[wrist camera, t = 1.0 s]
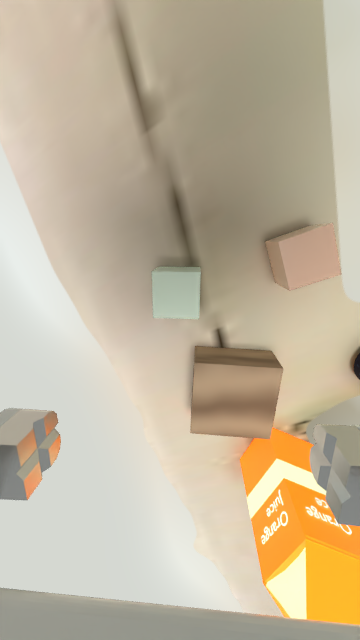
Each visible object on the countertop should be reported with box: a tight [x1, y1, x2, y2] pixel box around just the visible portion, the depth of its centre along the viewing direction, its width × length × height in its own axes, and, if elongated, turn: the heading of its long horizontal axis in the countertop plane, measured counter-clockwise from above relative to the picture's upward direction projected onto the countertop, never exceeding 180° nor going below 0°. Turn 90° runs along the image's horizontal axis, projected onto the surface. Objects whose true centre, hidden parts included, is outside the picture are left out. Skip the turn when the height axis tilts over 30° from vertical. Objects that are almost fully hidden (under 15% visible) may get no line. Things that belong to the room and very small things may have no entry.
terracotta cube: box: [265, 223, 341, 291], centre depth 26 cm, size 5×5×5 cm
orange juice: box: [240, 428, 360, 625], centre depth 28 cm, size 8×9×20 cm
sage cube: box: [152, 267, 201, 319], centre depth 28 cm, size 5×5×5 cm
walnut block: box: [190, 346, 283, 439], centre depth 32 cm, size 10×10×5 cm
